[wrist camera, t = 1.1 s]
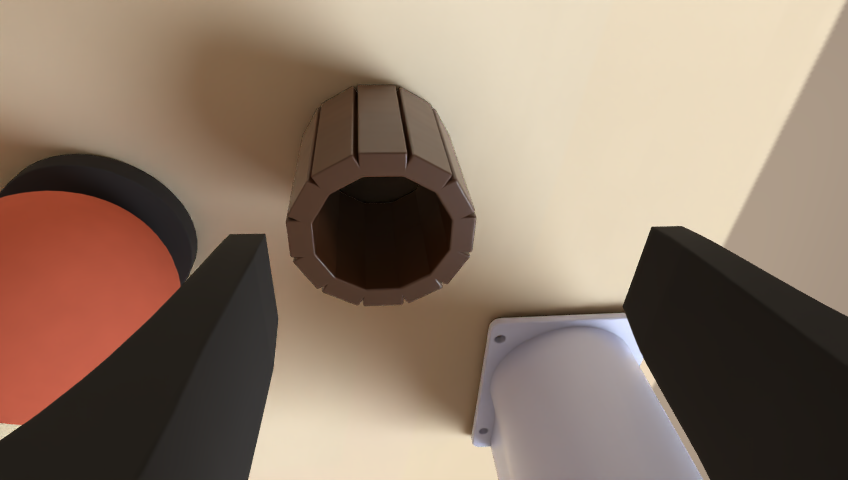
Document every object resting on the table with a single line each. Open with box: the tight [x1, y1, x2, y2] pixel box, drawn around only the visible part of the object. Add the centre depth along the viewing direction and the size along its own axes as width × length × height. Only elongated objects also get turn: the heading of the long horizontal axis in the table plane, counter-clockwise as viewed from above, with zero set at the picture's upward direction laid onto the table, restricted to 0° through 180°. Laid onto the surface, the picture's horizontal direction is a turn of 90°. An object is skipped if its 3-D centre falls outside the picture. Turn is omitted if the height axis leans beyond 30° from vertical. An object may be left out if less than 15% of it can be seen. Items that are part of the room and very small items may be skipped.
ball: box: [0, 154, 197, 425], centre depth 16 cm, size 7×7×7 cm
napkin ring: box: [286, 85, 476, 306], centre depth 17 cm, size 5×5×5 cm
